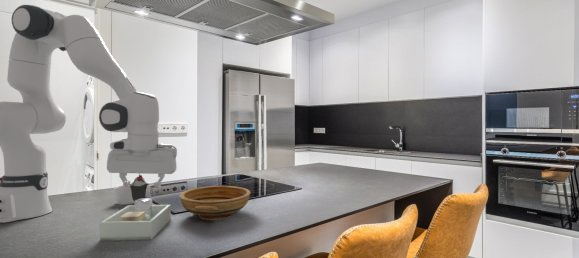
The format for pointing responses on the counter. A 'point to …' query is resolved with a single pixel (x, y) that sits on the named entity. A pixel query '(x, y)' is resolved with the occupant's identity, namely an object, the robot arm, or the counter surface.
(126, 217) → the maple cube
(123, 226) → the tote
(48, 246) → the counter surface
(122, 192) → the candle
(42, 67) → the robot arm
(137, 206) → the aluminium cylinder
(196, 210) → the wooden bowl
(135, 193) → the sundae
